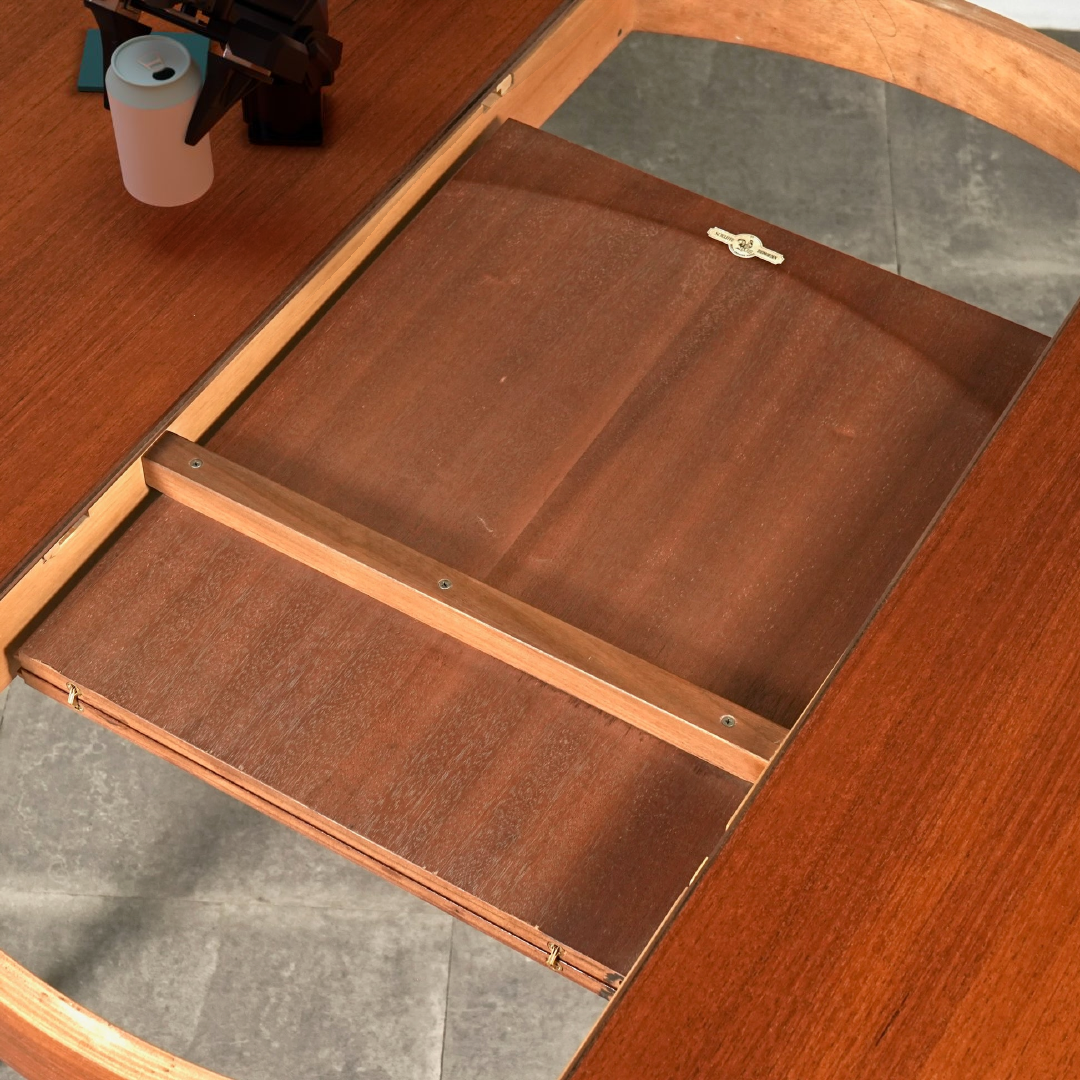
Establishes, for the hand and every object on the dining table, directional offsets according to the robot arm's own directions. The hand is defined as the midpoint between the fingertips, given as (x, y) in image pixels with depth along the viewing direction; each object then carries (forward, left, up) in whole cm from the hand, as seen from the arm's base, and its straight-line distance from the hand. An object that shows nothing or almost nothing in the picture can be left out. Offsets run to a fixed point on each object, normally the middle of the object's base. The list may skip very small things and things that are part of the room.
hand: (148, 127), depth 121 cm
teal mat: (+4, -23, -12) cm, 26 cm away
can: (-1, -1, -7) cm, 7 cm away
